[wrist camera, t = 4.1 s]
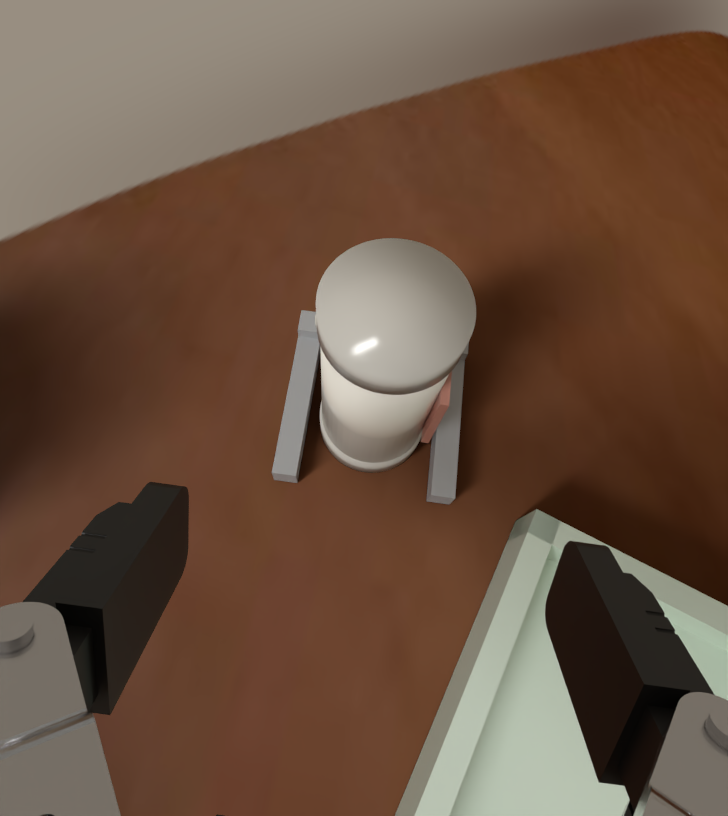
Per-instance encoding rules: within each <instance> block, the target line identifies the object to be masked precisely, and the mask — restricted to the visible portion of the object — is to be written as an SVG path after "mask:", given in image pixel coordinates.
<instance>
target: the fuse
mask: <svg viewBox="0 0 728 816" xmlns="http://www.w3.org/2000/svg"><path fill="white" fill-rule="evenodd" d="M475 321H476V303H475V298H474V294H473V291H472V288H471V286H470V284H469V282H468V280H467V279H466V277H465V275H464V274H463V272H462V271H461V270H460V269H459V268H458V267H457V265H456V264H455V263H453V262H452V261H451V260H450V259H449V258H448V257H446V256H445V255H444V254H442V253H441V252H439V251H437V250H435V249H434V248H432V247H429V246H427V245H425V244H422V243H419V242H415V241H411V240H406V239H397V238H385V239H377V240H372V241H368V242H364V243H362V244H359V245H356V246H354V247H352V248H350V249H349V250H347V251H346V252H344V253H343V254H341V255H340V256H339V257H338V258H336V259H335V260H334V261H333V262H332V264H331V265H330V266H329V267H328V268H327V270H326V271H325V273H324V275H323V276H322V279H321V281H320V283H319V286H318V290H317V295H316V323H317V335H318V340H319V343H320V350H321V391H322V401H321V405H320V430H321V435H322V438H323V441H324V443H325V445H326V447H327V448H328V450H329V451H330V453H331V454H332V455H333V456H334V457H335V458H336V459H337V460H338V461H339V462H341V463H342V464H344V465H345V466H347V467H349V468H351V469H354V470H357V471H361V472H369V473H375V472H383V471H387V470H390V469H393V468H395V467H397V466H399V465H400V464H402V463H403V462H404V461H406V460H407V459H408V458H409V457H410V456H411V454H412V453H413V452H414V450H415V449H416V447H417V445H418V443H419V441H420V439H421V442H423V443H429V441H430V440H431V438H432V436H433V434H434V432H435V431H436V429H437V427H438V425H439V423H440V422H441V420H442V418H443V416H444V414H445V412H446V411H447V409H448V407H449V402H450V389H451V376H452V370H453V369H454V368H455V366H456V365H457V363H458V362H459V360H460V358H461V356H462V354H463V352H464V350H465V348H466V346H467V344H468V342H469V340H470V338H471V335H472V333H473V330H474V326H475Z"/></svg>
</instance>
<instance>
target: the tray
mask: <svg viewBox="0 0 728 816" xmlns="http://www.w3.org/2000/svg"><path fill="white" fill-rule="evenodd" d="M569 541H575V542H583V543H590V544H597V545H604V546H607V547H608V548H609V549H610V550H611V552H612V554H613V555H614V557H615V559H616V561H617V562H618V564H619V566H620V568H621V569H622V571H623V573H630V574H632V575H633V576H635V577H636V578H637V579H638V580H639V581H640V582H641V583H642V584H643V585H644V586H645V587H647V588H648V589H649V590H650V591H651V592H652V593H653V595H654V596H655V598H656V600H657V601H658V603H659V605H660V606H661V608H662V610H663V611H664V613H665V614H664V616H665V617H667V618H668V619H669V621H670V623H671V624H672V626H673V628H674V629H675V634H677V635H678V636H679V637H680V639H681V641H682V642H683V644H684V645H685V647H686V649H687V650H688V652H689V654H690V655H691V657H692V659H693V660H694V662H695V663H696V665H697V667H698V668H699V670H700V672H701V673H702V675H703V677H704V678H705V680H706V681H707V683H708V685H709V686H710V688H711V690H712V691H713V693H714V695H716V696H719V697H721V698H724V699H726V700H728V606H727V605H725V604H723V603H721V602H719V601H717V600H715V599H713V598H711V597H709V596H707V595H705V594H703V593H701V592H699V591H697V590H695V589H693V588H691V587H689V586H687V585H685V584H683V583H681V582H679V581H677V580H676V579H674V578H672V577H670V576H668V575H666V574H664V573H662V572H660V571H658V570H656V569H654V568H652V567H650V566H648V565H646V564H644V563H642V562H640V561H638V560H636V559H634V558H632V557H630V556H628V555H626V554H624V553H622V552H620V551H618V550H616V549H614V548H612V547H611V546H609V545H607V544H605V543H603V542H601V541H599V540H597V539H595V538H593V537H591V536H589V535H587V534H585V533H583V532H581V531H579V530H577V529H575V528H573V527H571V526H569V525H567V524H565V523H563V522H561V521H559V520H557V519H555V518H553V517H551V516H549V515H548V514H546V513H544V512H542V511H540V510H538V509H536V510H534V511H532V512H531V513H529V514H527V515H525V516H524V517H522V518H520V519H518V520H517V521H516V522H515V524H514V526H513V529H512V531H511V534H510V536H509V539H508V541H507V543H506V546H505V548H504V551H503V553H502V556H501V558H500V561H499V563H498V565H497V568H496V570H495V573H494V575H493V578H492V580H491V582H490V585H489V587H488V590H487V592H486V595H485V597H484V600H483V602H482V604H481V607H480V609H479V612H478V614H477V617H476V619H475V621H474V624H473V626H472V629H471V631H470V634H469V636H468V639H467V641H466V643H465V646H464V648H463V651H462V653H461V656H460V658H459V660H458V663H457V665H456V668H455V670H454V673H453V675H452V678H451V680H450V682H449V685H448V687H447V690H446V692H445V695H444V697H443V699H442V702H441V704H440V707H439V709H438V712H437V714H436V717H435V719H434V721H433V724H432V726H431V729H430V731H429V734H428V736H427V738H426V741H425V743H424V746H423V748H422V751H421V753H420V756H419V758H418V760H417V763H416V765H415V768H414V770H413V773H412V775H411V777H410V780H409V782H408V785H407V787H406V790H405V792H404V795H403V797H402V799H401V802H400V804H399V807H398V809H397V812H396V814H395V816H622V813H623V811H624V809H625V807H626V805H627V803H628V801H629V797H628V794H627V791H626V789H625V786H622V785H614V784H607V783H599V782H598V779H597V776H596V773H595V770H594V767H593V764H592V761H591V758H590V755H589V752H588V749H587V746H586V743H585V740H584V737H583V734H582V731H581V728H580V725H579V722H578V719H577V716H576V714H575V711H574V708H573V705H572V702H571V699H570V696H569V693H568V690H567V687H566V684H565V681H564V678H563V675H562V672H561V669H560V666H559V663H558V660H557V657H556V654H555V651H554V648H553V645H552V642H551V639H550V636H549V633H548V630H547V626H546V620H545V606H546V600H547V596H548V593H549V590H550V587H551V584H552V581H553V578H554V575H555V572H556V569H557V566H558V563H559V560H560V557H561V554H562V551H563V549H564V546H565V545H566V543H567V542H569Z"/></svg>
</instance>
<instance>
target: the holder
mask: <svg viewBox="0 0 728 816" xmlns="http://www.w3.org/2000/svg"><path fill="white" fill-rule="evenodd" d="M468 345H469V342H468V344H467V346H466V348H465V350H464V352H463V354H462V356H461V358H460V360H459V362H458V363H457V365H456V366H455V368H454V369H453V370H452V376H451V389H450V402H449V407H448V409H447V411H446V412H445V414H444V416H443V418H442V420H441V422H440V423H439V425H438V427H437V429H436V431H435V432H434V434H433V436H432V443H431V454H430V466H429V477H428V488H427V500H426V501H428V502H435V503H442V504H450V503H451V502H452V501H453V500H454V499H455V494H456V480H457V465H458V451H459V437H460V422H461V408H462V393H463V379H464V364H465V359H466V357H467V355H468ZM320 353H321V350H320V343H319V340H318V335H317V323H316V312H311V311H304V310H302V311H301V316H300V321H299V326H298V341H297V346H296V351H295V357H294V362H293V367H292V372H291V377H290V382H289V387H288V392H287V397H286V403H285V408H284V413H283V418H282V423H281V428H280V433H279V438H278V443H277V448H276V454H275V459H274V464H273V469H272V475H273V477H274V480H279V481H286V482H294V483H298V477H299V471H300V466H301V460H302V455H303V449H304V443H305V438H306V432H307V426H308V421H309V415H310V409H311V404H312V398H313V392H314V387H315V381H316V375H317V370H318V364H319V359H320Z"/></svg>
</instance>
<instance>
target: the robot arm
mask: <svg viewBox="0 0 728 816" xmlns="http://www.w3.org/2000/svg"><path fill="white" fill-rule="evenodd" d="M188 513H189V495H188V489H187V488H186V487H184V486H177V485H169V484H162V483H155V482H149V483H148V484H147V485H146V486H145V487H144V488H143V490H142V491H141V492H140V494H139V495H138V496H137V497H136V499H135V500H134V501H133V503H132V504H129V503H121V502H118V503H117V504H115V505H113V506H111V507H110V508H108V509H106V510H105V511H103V512H101V513H99V514H98V515H96V516H95V517H94V519H93V520H92V521H91V522H90V523H89V525H88V526H87V527H86V528H85V529H84V530H83V532H82V535H81V536H78V537H77V539H76V540H75V541H74V542H73V543H72V545H71V546H70V549H69V550H66V552H65V553H64V554H63V555H62V556H61V557H60V559H59V560H58V561H57V562H56V563H55V565H54V566H53V567H52V568H51V569H50V570H49V572H48V573H47V574H46V575H45V576H44V577H43V579H42V580H41V581H40V582H39V583H38V584H37V586H36V587H35V588H34V589H33V590H32V592H31V593H30V594H29V595H28V596H27V597H26V599H25V600H24V601H23V602H21V603H15V604H10V605H6V606H3V607H0V816H121V815H120V812H119V808H118V804H117V800H116V797H115V793H114V789H113V785H112V782H111V778H110V774H109V771H108V767H107V763H106V759H105V756H104V752H103V748H102V744H101V741H100V737H99V733H98V729H97V726H96V722H95V719H94V716H93V713H99V714H107V715H110V714H111V712H112V710H113V708H114V706H115V705H116V703H117V701H118V699H119V697H120V695H121V693H122V691H123V689H124V687H125V685H126V683H127V681H128V679H129V677H130V675H131V673H132V672H133V670H134V668H135V666H136V664H137V662H138V660H139V658H140V656H141V654H142V652H143V650H144V648H145V646H146V644H147V642H148V640H149V639H150V637H151V635H152V633H153V631H154V629H155V627H156V625H157V623H158V621H159V619H160V617H161V615H162V613H163V611H164V609H165V607H166V606H167V604H168V602H169V600H170V598H171V596H172V594H173V592H174V590H175V588H176V586H177V584H178V582H179V580H180V578H181V576H182V574H183V571H184V568H185V564H186V560H187V554H188ZM664 614H665V613H664V611H663V610H662V608H661V606H660V605H659V603H658V601H657V600H656V598H655V596H654V595H653V593H652V592H651V591H650V590H649V589H648V588H647V587H645V586H644V585H643V584H642V583H641V582H640V581H639V580H638V579H637V578H636V577H635V576H633V575H632V574H630V573H623V571H622V569H621V568H620V566H619V564H618V562H617V561H616V559H615V557H614V555H613V554H612V552H611V550H610V549H609V548H608V547H607V546H604V545H597V544H590V543H583V542H575V541H569V542H567V543H566V545H565V546H564V549H563V551H562V554H561V557H560V560H559V563H558V566H557V569H556V572H555V575H554V578H553V581H552V584H551V587H550V590H549V593H548V596H547V600H546V606H545V620H546V626H547V630H548V633H549V636H550V639H551V642H552V645H553V648H554V651H555V654H556V657H557V660H558V663H559V666H560V669H561V672H562V675H563V678H564V681H565V684H566V687H567V690H568V693H569V696H570V699H571V702H572V705H573V708H574V711H575V714H576V716H577V719H578V722H579V725H580V728H581V731H582V734H583V737H584V740H585V743H586V746H587V749H588V752H589V755H590V758H591V761H592V764H593V767H594V770H595V773H596V776H597V779H598V782H599V783H607V784H614V785H622V786H625V789H626V791H627V794H628V797H629V801H628V803H627V805H626V807H625V809H624V811H623V813H622V816H728V700H726V699H724V698H721V697H719V696H716V695H714V693H713V691H712V690H711V688H710V686H709V685H708V683H707V681H706V680H705V678H704V677H703V675H702V673H701V672H700V670H699V668H698V667H697V665H696V663H695V662H694V660H693V659H692V657H691V655H690V654H689V652H688V650H687V649H686V647H685V645H684V644H683V642H682V641H681V639H680V637H679V636H678V635H677V634H675V629H674V628H673V626H672V624H671V623H670V621H669V619H668V618H667V617H665V616H664ZM216 816H223V815H216Z"/></svg>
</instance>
